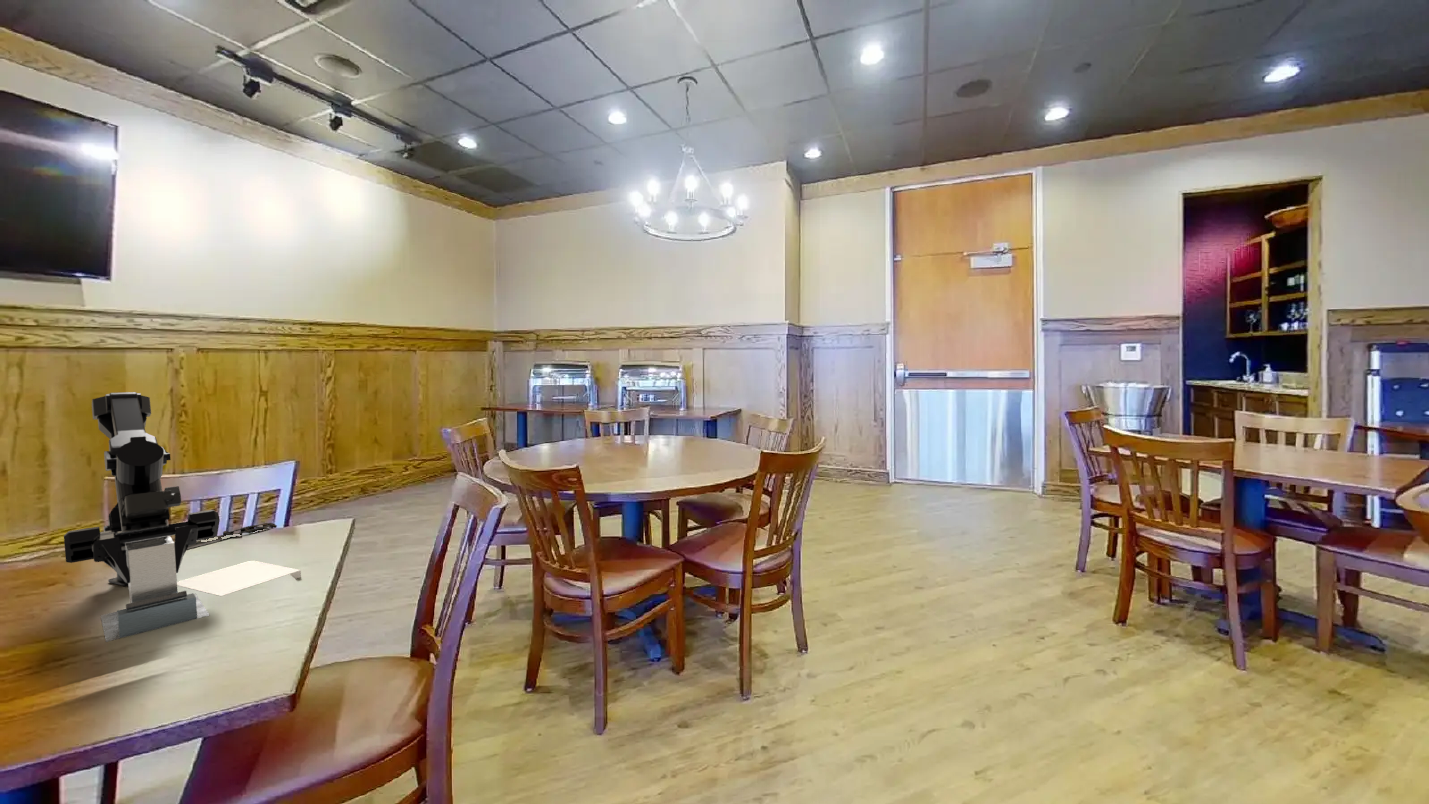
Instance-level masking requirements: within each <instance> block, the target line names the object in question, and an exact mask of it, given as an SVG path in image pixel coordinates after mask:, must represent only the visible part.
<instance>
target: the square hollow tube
mask: <svg viewBox="0 0 1429 804" xmlns="http://www.w3.org/2000/svg"><path fill="white" fill-rule="evenodd" d="M174 542H175V541H174V540H173V538H172V537H171V536H168V537H163V538H157V539H151V540H145V541H139V542H133V543H127V544H125V545H126V559H127V566H128V569H129V576H130V583H128V596H129V603H133V602H137V601H142V600H146V599H151V598H155V597H160V596H164V595H168V594H173V593H177V592H178V585H177V582H178V579H177V578H178V577H177V576H178V575H177V573H176V561H175V547H174Z"/></svg>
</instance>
